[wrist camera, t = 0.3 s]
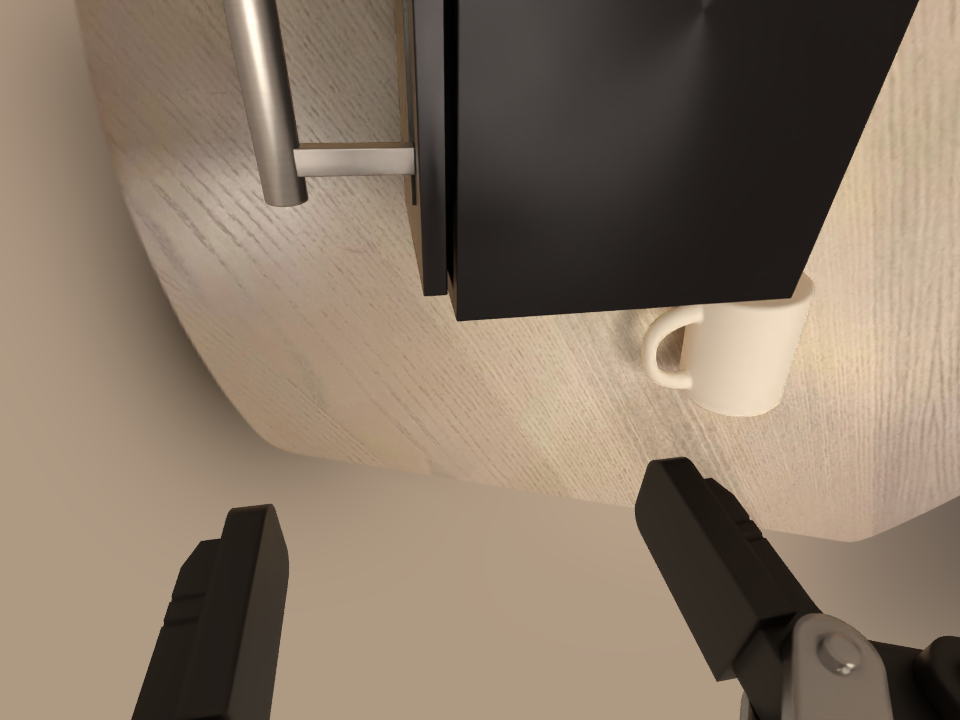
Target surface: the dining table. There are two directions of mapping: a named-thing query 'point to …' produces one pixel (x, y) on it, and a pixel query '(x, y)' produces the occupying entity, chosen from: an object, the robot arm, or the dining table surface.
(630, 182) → the oven
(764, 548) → the robot arm
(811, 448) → the dining table surface
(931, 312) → the dining table surface
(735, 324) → the mug
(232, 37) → the oven door
